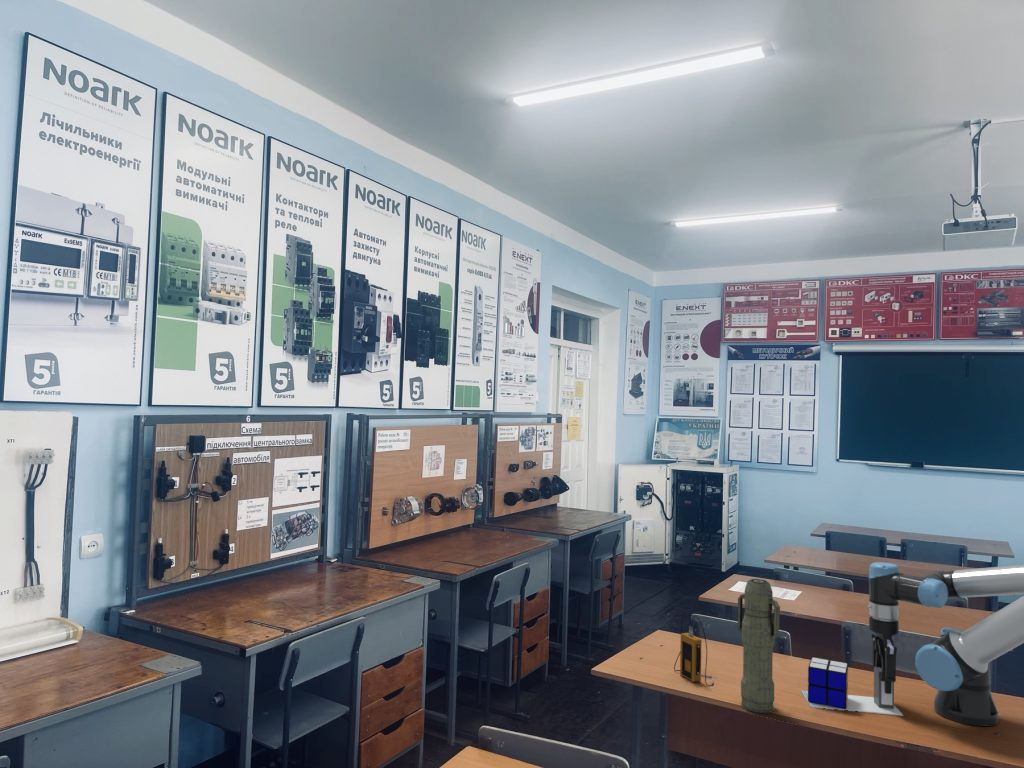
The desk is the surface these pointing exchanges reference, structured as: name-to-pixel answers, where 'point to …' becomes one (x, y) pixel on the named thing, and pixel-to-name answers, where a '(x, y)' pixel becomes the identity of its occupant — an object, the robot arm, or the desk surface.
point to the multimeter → (691, 655)
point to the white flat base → (865, 700)
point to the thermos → (758, 645)
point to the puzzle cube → (828, 683)
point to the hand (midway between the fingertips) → (883, 700)
